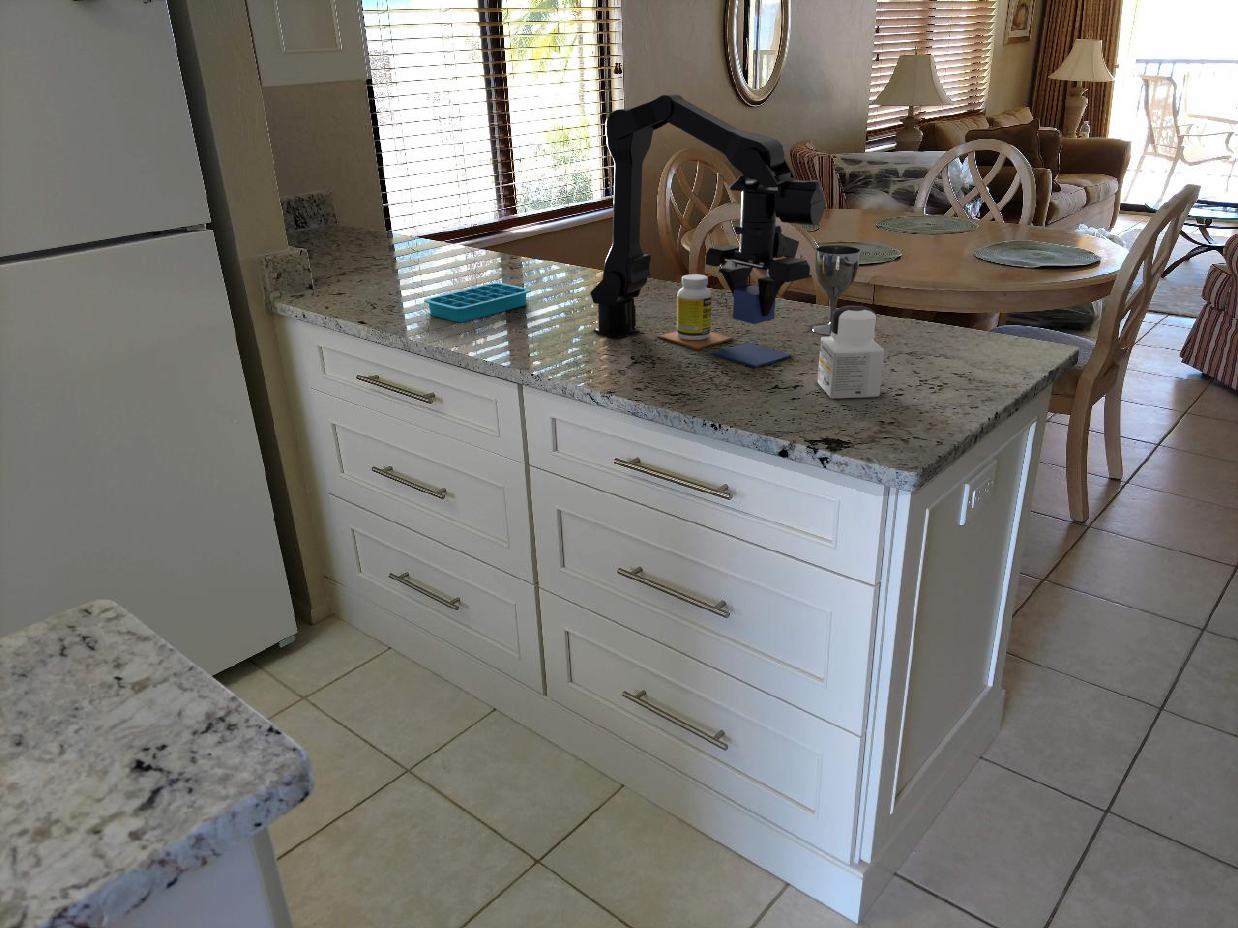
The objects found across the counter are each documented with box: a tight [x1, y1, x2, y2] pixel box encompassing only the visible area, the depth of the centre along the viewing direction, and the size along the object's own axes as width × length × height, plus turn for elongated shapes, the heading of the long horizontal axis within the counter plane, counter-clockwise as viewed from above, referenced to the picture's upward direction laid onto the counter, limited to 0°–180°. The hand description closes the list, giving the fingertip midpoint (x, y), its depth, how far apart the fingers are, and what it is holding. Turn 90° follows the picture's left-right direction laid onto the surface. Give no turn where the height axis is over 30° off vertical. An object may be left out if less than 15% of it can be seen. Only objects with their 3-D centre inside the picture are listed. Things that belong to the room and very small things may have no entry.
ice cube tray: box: [423, 282, 532, 323], centre depth 196 cm, size 12×20×3 cm, turn 138°
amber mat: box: [658, 330, 733, 350], centre depth 176 cm, size 9×10×1 cm
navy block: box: [732, 284, 776, 325], centre depth 163 cm, size 5×5×5 cm
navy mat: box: [712, 342, 792, 369], centre depth 166 cm, size 9×10×1 cm
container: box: [817, 305, 885, 400], centre depth 147 cm, size 8×8×13 cm
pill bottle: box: [676, 273, 712, 340], centre depth 174 cm, size 6×6×11 cm
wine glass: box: [811, 245, 861, 336], centre depth 177 cm, size 8×8×15 cm
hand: (753, 313), depth 163 cm, fingers closed on navy block, 5 cm apart
